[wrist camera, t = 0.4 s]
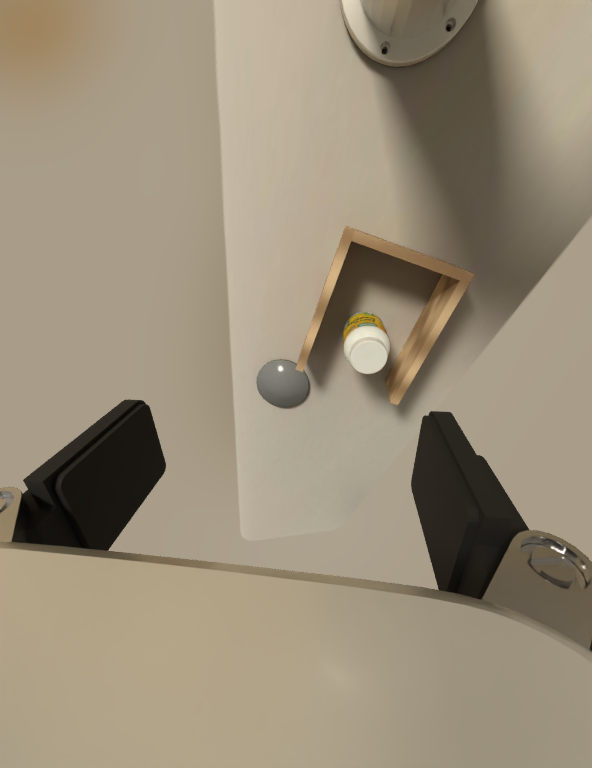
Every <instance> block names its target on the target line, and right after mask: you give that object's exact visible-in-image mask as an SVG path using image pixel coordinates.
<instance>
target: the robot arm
mask: <svg viewBox="0 0 592 768" xmlns="http://www.w3.org/2000/svg"><path fill="white" fill-rule="evenodd" d="M477 2H478V0H340V6H341V11H342V14H343V18H344V21H345V24H346V27H347V29H348V31H349V33H350V35H351V37H352V39H353V40H354V42H355V43H356V44H357V46H358V47H359V48H360V50H361V51H362V52H363V53H365V54H366V55H367V56H368V57H370V58H371V59H372V60H374V61H376V62H379V63H381V64H383V65H388V66H394V67H401V66H410V65H413V64H416V63H419V62H422V61H424V60H426V59H427V58H429V57H431V56H432V55H434V54H436V53H437V52H438V51H440V50H441V49H442V48H443V47H444V46H445V45H447V44H448V43H449V42H450V41H451V40H452V38H453V37H454V36H455V35H456V34H457V33H458V32H459V30H460V29H461V28H462V27H463V25H464V24H465V22H466V21H467V19H468V18H469V16H470V15H471V13H472V11H473V9H474V8H475V6H476V4H477ZM446 27H450V29H451V30H450V32H447V31H446ZM383 49H386V50H387V53H386V54H382V50H383ZM165 468H166V463H165V459H164V456H163V452H162V449H161V445H160V442H159V438H158V435H157V431H156V428H155V424H154V421H153V417H152V414H151V410H150V407H149V406H148V405H146V404H145V402H144V401H142V400H124V401H122V402H121V403H120V404H119V405H118V406H116V407H115V408H114V409H112V410H111V411H110V412H108V413H107V414H106V415H105V416H103V417H102V418H101V419H100V420H98V421H97V422H96V423H95V424H93V425H92V426H91V427H89V428H88V429H87V430H86V431H84V432H83V433H82V434H81V435H79V436H78V437H77V438H76V439H74V440H73V441H72V442H71V443H69V444H68V445H67V446H66V447H64V448H63V449H62V450H60V451H59V452H58V453H57V454H55V455H54V456H53V457H52V458H50V459H49V460H48V461H46V462H45V463H44V464H43V465H41V466H40V467H39V468H38V469H36V470H35V471H34V472H33V473H31V474H30V475H29V476H27V477H26V478H25V479H24V480H23V481H24V483H25V484H26V486H27V488H28V490H27V491H26V492H25V493H23V494H22V492H21V491H20V490H19V489H18V488H15V487H4V488H0V768H592V562H591V561H590V560H589V558H588V557H587V556H586V555H584V554H583V553H582V552H581V551H580V550H578V549H577V548H576V547H575V546H573V545H571V544H570V543H568V542H566V541H565V540H563V539H561V538H559V537H557V536H554V535H552V534H550V533H545V532H541V531H537V530H536V531H535V530H529V529H528V527H527V525H526V524H525V522H524V521H523V519H522V517H521V516H520V514H519V513H518V511H517V510H516V508H515V506H514V505H513V503H512V501H511V500H510V498H509V497H508V495H507V493H506V492H505V490H504V489H503V487H502V485H501V484H500V482H499V481H498V479H497V477H496V476H495V474H494V473H493V471H492V469H491V468H490V466H489V465H488V463H487V461H486V460H485V459H484V458H483V457H482V456H480V455H476V453H475V451H474V450H473V448H472V446H471V445H470V443H469V441H468V440H467V438H466V437H465V435H464V433H463V431H462V430H461V428H460V426H459V425H458V423H457V421H456V420H455V418H454V416H453V415H452V413H450V412H436V411H431V412H430V413H429V416H423V419H422V424H421V429H420V435H419V441H418V446H417V452H416V458H415V463H414V469H413V474H412V481H411V487H412V493H413V496H414V500H415V504H416V507H417V511H418V515H419V518H420V522H421V525H422V529H423V533H424V537H425V541H426V544H427V548H428V552H429V555H430V559H431V563H432V566H433V570H434V574H435V578H436V581H437V585H438V589H439V590H435V589H429V588H423V587H417V586H410V585H402V584H394V583H387V582H379V581H372V580H364V579H356V578H349V577H340V576H331V575H323V574H314V573H305V572H295V571H287V570H279V569H270V568H262V567H253V566H243V565H234V564H226V563H216V562H207V561H198V560H189V559H180V558H171V557H161V556H152V555H142V554H133V553H123V552H113V551H108V550H109V548H110V547H111V545H112V544H113V543H114V541H115V540H116V539H117V537H118V536H119V534H120V533H121V532H122V530H123V529H124V528H125V526H126V525H127V523H128V522H129V521H130V519H131V518H132V517H133V515H134V514H135V512H136V511H137V509H138V508H139V507H140V505H141V504H142V503H143V501H144V500H145V499H146V497H147V496H148V494H149V493H150V492H151V490H152V489H153V487H154V486H155V485H156V483H157V482H158V481H159V479H160V478H161V476H162V475H163V474H164V472H165Z"/></svg>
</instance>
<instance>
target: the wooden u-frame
mask: <svg viewBox="0 0 592 768" xmlns="http://www.w3.org/2000/svg"><path fill="white" fill-rule="evenodd" d="M351 241H353V242H356V243H358V244H361V245H364V246H367V247H369V248H372V249H375V250H378V251H380V252H383V253H386V254H389V255H391V256H394V257H397V258H400V259H402V260H405V261H408V262H411V263H413V264H416V265H419V266H422V267H424V268H427V269H430V270H433V271H435V272H438V273H441V274H442V276H441V278H440V280H439V282H438V284H437V285H436V287H435V289H434V291H433V293H432V295H431V297H430V299H429V300H428V302H427V304H426V306H425V308H424V310H423V312H422V313H421V315H420V317H419V319H418V321H417V323H416V325H415V326H414V328H413V330H412V332H411V334H410V336H409V338H408V340H407V341H406V343H405V345H404V347H403V349H402V351H401V353H400V354H399V356H398V358H397V360H396V362H395V364H394V366H393V368H392V369H391V371H390V373H389V375H388V377H387V379H386V381H385V382H386V386H387V390H388V394H389V398H390V402H391V403H393V404H396V405H398V404H399V402H400V401H401V399H402V397H403V396H404V394H405V392H406V391H407V389H408V387H409V385H410V384H411V382H412V380H413V379H414V377H415V375H416V374H417V372H418V370H419V368H420V367H421V365H422V363H423V362H424V360H425V358H426V357H427V355H428V353H429V351H430V350H431V348H432V346H433V345H434V343H435V341H436V340H437V338H438V336H439V334H440V333H441V331H442V329H443V328H444V326H445V324H446V323H447V321H448V319H449V317H450V316H451V314H452V312H453V311H454V309H455V307H456V306H457V304H458V302H459V300H460V299H461V297H462V295H463V294H464V292H465V290H466V289H467V287H468V285H469V283H470V282H471V280H472V278H473V277H474V275H475V274H473V273H471V272H469V271H466V270H464V269H462V268H459V267H457V266H454V265H452V264H449V263H446V262H444V261H441V260H438V259H435V258H433V257H430V256H427V255H424V254H422V253H419V252H416V251H413V250H411V249H408V248H405V247H402V246H400V245H397V244H394V243H391V242H389V241H386V240H383V239H381V238H378V237H375V236H372V235H370V234H367V233H364V232H361V231H359V230H356V229H353V228H350V227H348V226H345V229H344V232H343V235H342V237H341V240H340V243H339V246H338V249H337V252H336V254H335V257H334V260H333V263H332V266H331V269H330V271H329V274H328V277H327V280H326V283H325V285H324V288H323V291H322V294H321V297H320V300H319V302H318V305H317V308H316V311H315V314H314V317H313V319H312V322H311V325H310V328H309V331H308V334H307V336H306V339H305V342H304V345H303V348H302V351H301V354H300V357H299V360H298V363H297V366H296V370H298V371H301V372H303V370H304V367H305V365H306V362H307V359H308V357H309V354H310V351H311V349H312V346H313V343H314V340H315V338H316V335H317V332H318V330H319V327H320V324H321V322H322V319H323V316H324V313H325V311H326V308H327V305H328V303H329V300H330V297H331V295H332V292H333V289H334V286H335V284H336V281H337V278H338V276H339V273H340V270H341V268H342V265H343V262H344V259H345V257H346V254H347V251H348V249H349V246H350V243H351Z"/></svg>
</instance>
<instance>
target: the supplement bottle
mask: <svg viewBox="0 0 592 768" xmlns="http://www.w3.org/2000/svg"><path fill="white" fill-rule="evenodd" d="M343 344H344V354H345V357H346V359H347V360H348V362H349V363H350V364H351V365H352V366H353V367H354V369H356V370H357V371H358V372H360V373H364V374H372V373H375V372H378V371H379V370H381V369H382V368H383V367H384V365H385V364H386V362H387V357H388V355H389V352H390V341H389V338H388V336H387V333H386V331H385V328H384V325H383V323H382V321H381V319H380V318H379V317H378V316H376V315H375V314H373V313H370V312H359V313H356V314H354V315H352V316H351V317H350V318H349V319H348V321H347V322H346V324H345V326H344V330H343Z"/></svg>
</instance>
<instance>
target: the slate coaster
mask: <svg viewBox="0 0 592 768" xmlns="http://www.w3.org/2000/svg"><path fill="white" fill-rule="evenodd" d="M296 366H297V364H296V363H294V362H291V361H288V360H281V359H280V360H273V361H271V362H269V363H267V364H266V365H264V366H263V367H262V369H261V370H260V372H259V374H258V376H257V388H258V391H259V393H260V394H261V396H262V397H263V398H264V399H265V400H266V401H267V402H269V403H270V404H272V405H275V406H278V407H292V406H295V405H297V404H299V403H300V402H302V401H303V400H304V398H305V397H306V395H307V392H308V388H309V381H308V377H307V375H306V373H305V371H304V370H303V372H301V371H298V370H296Z"/></svg>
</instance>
